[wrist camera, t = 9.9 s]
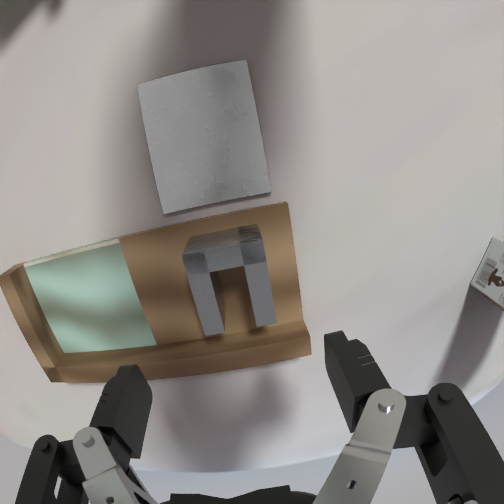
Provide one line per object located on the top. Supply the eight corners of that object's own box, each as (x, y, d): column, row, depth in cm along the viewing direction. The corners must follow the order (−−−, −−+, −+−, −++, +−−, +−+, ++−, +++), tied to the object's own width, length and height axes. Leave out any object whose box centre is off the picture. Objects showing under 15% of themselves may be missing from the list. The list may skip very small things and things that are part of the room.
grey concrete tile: (138, 85, 18) (137, 84, 18) (246, 61, 18) (246, 59, 18) (164, 213, 21) (163, 214, 21) (270, 191, 21) (271, 191, 21)
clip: (189, 236, 22) (181, 255, 18) (256, 223, 22) (262, 239, 18) (208, 307, 24) (205, 335, 20) (269, 295, 24) (277, 323, 20)
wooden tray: (14, 265, 22) (-3, 277, 19) (286, 201, 22) (294, 210, 19) (61, 364, 26) (51, 382, 23) (303, 334, 26) (311, 354, 23)
